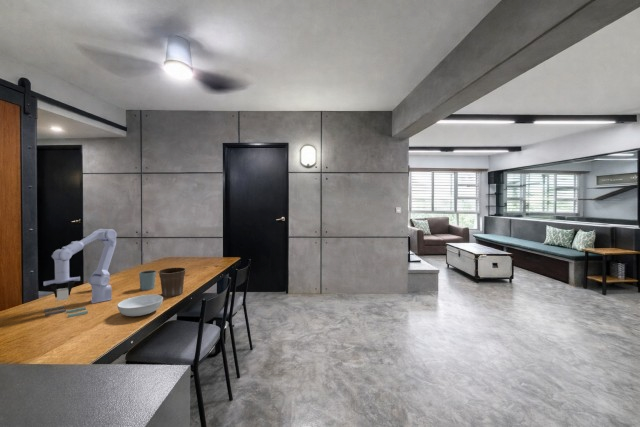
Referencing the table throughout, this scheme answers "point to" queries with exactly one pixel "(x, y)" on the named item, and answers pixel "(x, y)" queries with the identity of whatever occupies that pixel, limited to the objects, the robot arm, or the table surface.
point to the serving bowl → (140, 305)
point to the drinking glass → (147, 280)
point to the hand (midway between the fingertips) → (62, 296)
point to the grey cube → (62, 294)
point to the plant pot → (172, 281)
